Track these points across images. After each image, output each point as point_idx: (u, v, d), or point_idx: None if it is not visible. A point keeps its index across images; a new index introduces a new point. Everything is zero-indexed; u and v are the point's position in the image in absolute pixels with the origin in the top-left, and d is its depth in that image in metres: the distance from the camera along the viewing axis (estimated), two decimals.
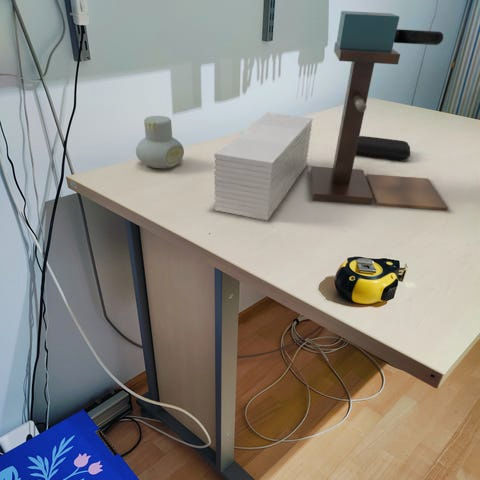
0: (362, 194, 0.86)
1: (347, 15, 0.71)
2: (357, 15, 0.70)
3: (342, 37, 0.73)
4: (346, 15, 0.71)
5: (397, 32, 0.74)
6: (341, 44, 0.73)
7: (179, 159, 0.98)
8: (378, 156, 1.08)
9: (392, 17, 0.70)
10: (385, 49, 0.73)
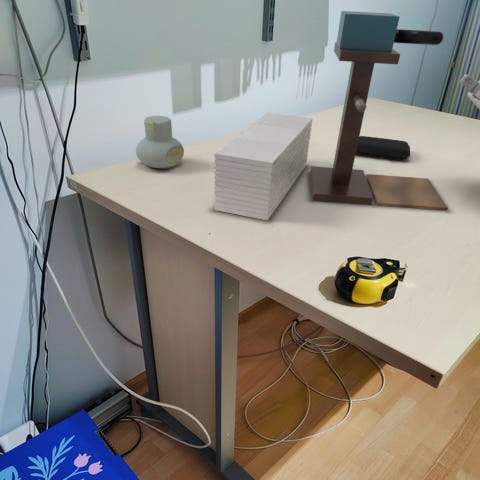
0: (362, 194, 0.86)
1: (347, 15, 0.71)
2: (357, 15, 0.70)
3: (342, 37, 0.73)
4: (346, 15, 0.71)
5: (397, 32, 0.74)
6: (341, 44, 0.73)
7: (179, 159, 0.98)
8: (378, 156, 1.08)
9: (392, 17, 0.70)
10: (385, 49, 0.73)
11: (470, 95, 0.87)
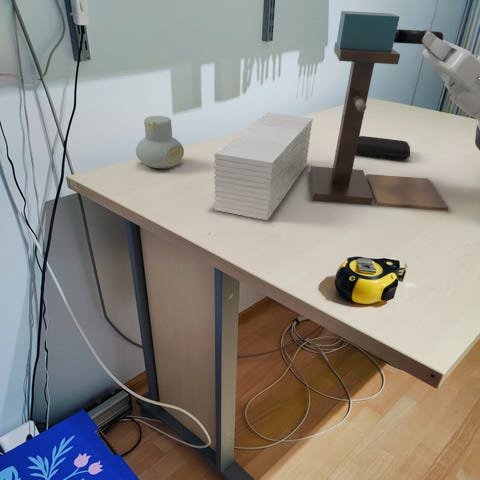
0: (362, 194, 0.86)
1: (347, 15, 0.71)
2: (357, 15, 0.70)
3: (342, 37, 0.73)
4: (346, 15, 0.71)
5: (397, 32, 0.74)
6: (341, 44, 0.73)
7: (179, 159, 0.98)
8: (378, 156, 1.08)
9: (392, 17, 0.70)
10: (385, 49, 0.73)
11: (424, 53, 0.82)
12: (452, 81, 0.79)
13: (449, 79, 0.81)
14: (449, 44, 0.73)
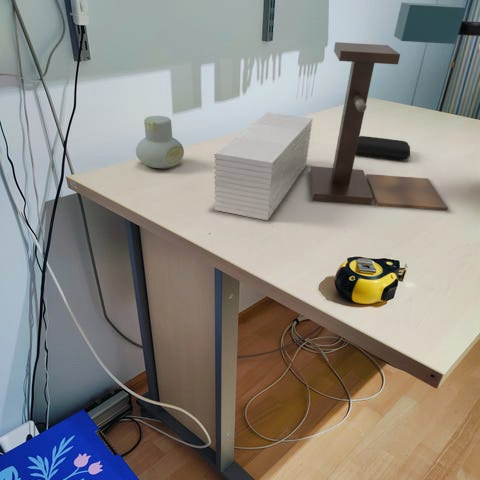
0: (362, 194, 0.86)
1: (412, 6, 0.69)
2: (422, 6, 0.69)
3: (405, 29, 0.71)
4: (411, 6, 0.69)
5: (460, 24, 0.72)
6: (403, 36, 0.72)
7: (179, 159, 0.98)
8: (378, 156, 1.08)
9: (458, 8, 0.69)
10: (448, 41, 0.71)
11: None
12: None
13: None
14: None
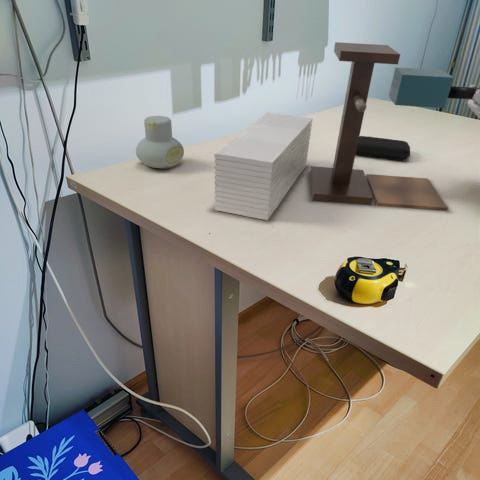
0: (362, 194, 0.86)
1: (404, 76, 0.75)
2: (414, 76, 0.75)
3: (398, 95, 0.77)
4: (403, 76, 0.75)
5: (449, 89, 0.78)
6: (397, 101, 0.78)
7: (179, 159, 0.98)
8: (378, 156, 1.08)
9: (447, 78, 0.75)
10: (438, 106, 0.78)
11: (470, 103, 0.87)
12: None
13: None
14: None
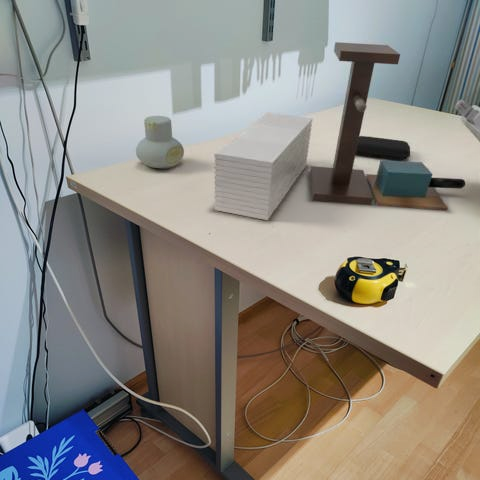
0: (362, 194, 0.86)
1: (390, 173, 0.85)
2: (398, 173, 0.85)
3: (385, 188, 0.87)
4: (389, 173, 0.85)
5: None
6: (383, 192, 0.88)
7: (179, 159, 0.98)
8: (378, 156, 1.08)
9: (426, 174, 0.85)
10: (419, 196, 0.88)
11: (464, 120, 0.88)
12: None
13: None
14: None
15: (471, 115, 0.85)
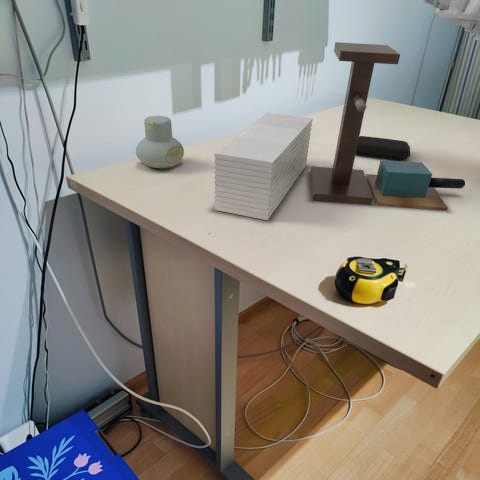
0: (362, 194, 0.86)
1: (390, 173, 0.85)
2: (398, 173, 0.85)
3: (385, 188, 0.87)
4: (389, 173, 0.85)
5: None
6: (383, 192, 0.88)
7: (179, 159, 0.98)
8: (378, 156, 1.08)
9: (426, 174, 0.85)
10: (419, 196, 0.88)
11: (438, 11, 0.91)
12: (472, 24, 0.87)
13: (469, 23, 0.89)
14: None
15: (442, 3, 0.88)
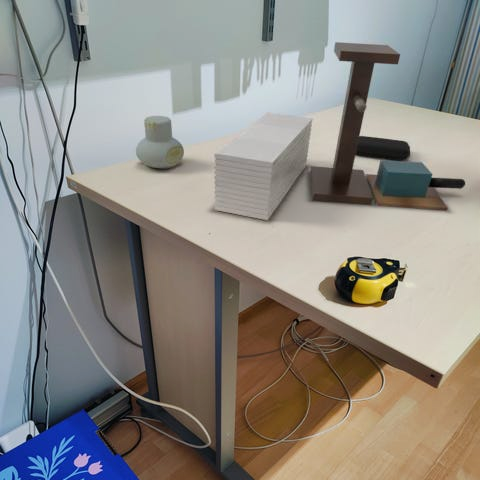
0: (362, 194, 0.86)
1: (390, 173, 0.85)
2: (398, 173, 0.85)
3: (385, 188, 0.87)
4: (389, 173, 0.85)
5: None
6: (383, 192, 0.88)
7: (179, 159, 0.98)
8: (378, 156, 1.08)
9: (426, 174, 0.85)
10: (419, 196, 0.88)
11: None
12: None
13: None
14: None
15: None
